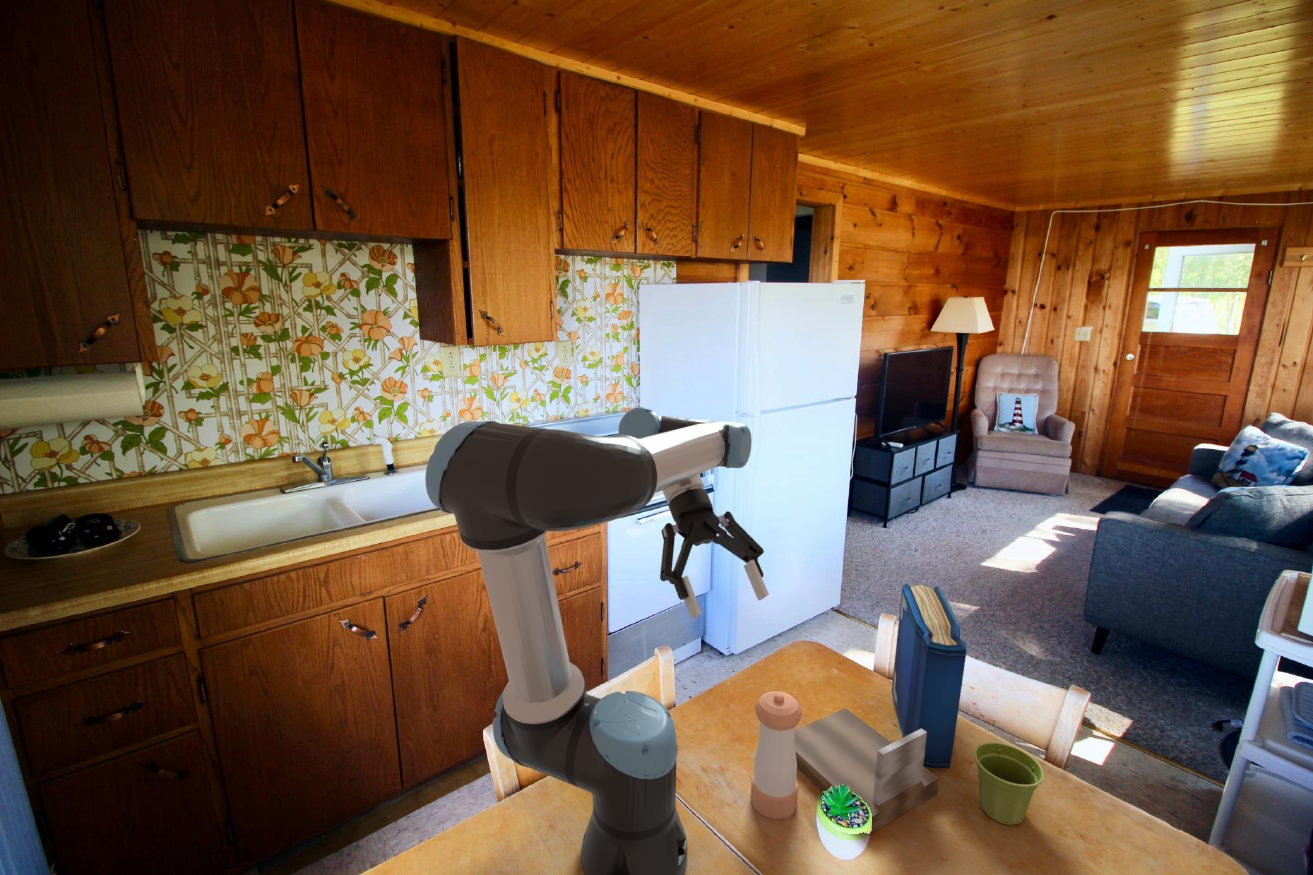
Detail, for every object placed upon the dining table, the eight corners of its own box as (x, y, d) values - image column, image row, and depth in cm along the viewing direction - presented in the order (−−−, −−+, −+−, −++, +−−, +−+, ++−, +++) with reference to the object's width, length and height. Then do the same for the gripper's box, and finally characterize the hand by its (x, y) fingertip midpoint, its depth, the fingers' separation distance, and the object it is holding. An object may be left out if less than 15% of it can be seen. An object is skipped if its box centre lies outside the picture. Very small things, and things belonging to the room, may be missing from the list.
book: (956, 779, 103) (973, 644, 97) (911, 772, 104) (925, 639, 98) (927, 698, 123) (940, 583, 118) (890, 694, 125) (901, 580, 119)
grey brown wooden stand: (867, 835, 92) (874, 766, 89) (779, 751, 109) (782, 691, 106) (937, 794, 99) (945, 729, 97) (844, 721, 116) (848, 665, 114)
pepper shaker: (748, 814, 96) (753, 706, 91) (752, 779, 102) (757, 677, 98) (796, 823, 94) (803, 713, 90) (797, 787, 101) (803, 684, 97)
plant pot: (970, 778, 103) (976, 733, 101) (1036, 801, 98) (1043, 755, 96) (965, 818, 95) (971, 770, 93) (1036, 845, 90) (1044, 795, 88)
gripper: (734, 495, 121) (779, 597, 112) (618, 517, 110) (658, 632, 101) (750, 477, 116) (800, 582, 106) (631, 497, 104) (674, 617, 95)
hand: (731, 607), depth 103 cm, fingers open, 13 cm apart
